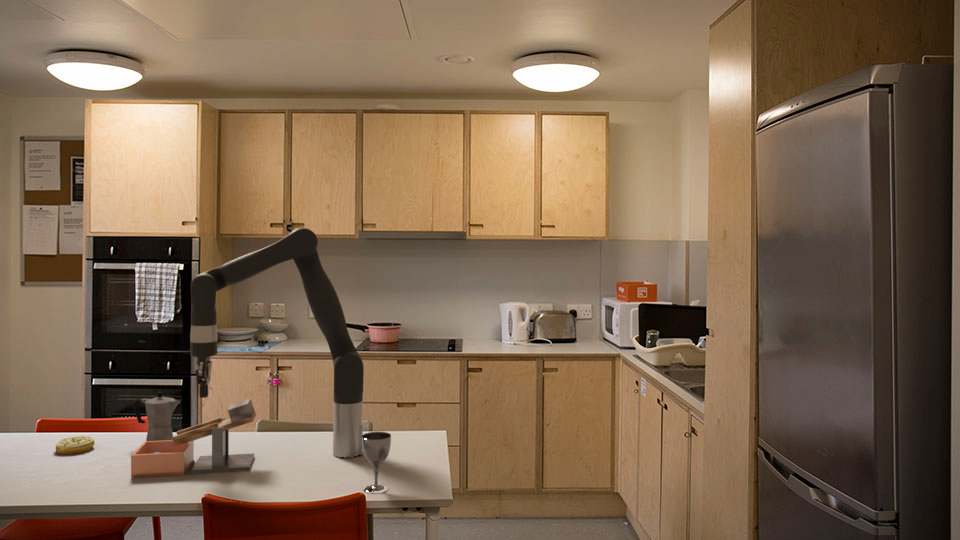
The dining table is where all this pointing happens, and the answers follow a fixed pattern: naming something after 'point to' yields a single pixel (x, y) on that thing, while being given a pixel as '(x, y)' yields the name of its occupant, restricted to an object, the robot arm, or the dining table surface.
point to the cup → (161, 458)
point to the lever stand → (222, 456)
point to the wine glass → (376, 453)
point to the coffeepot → (157, 416)
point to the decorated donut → (75, 444)
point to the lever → (218, 423)
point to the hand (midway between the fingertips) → (204, 397)
